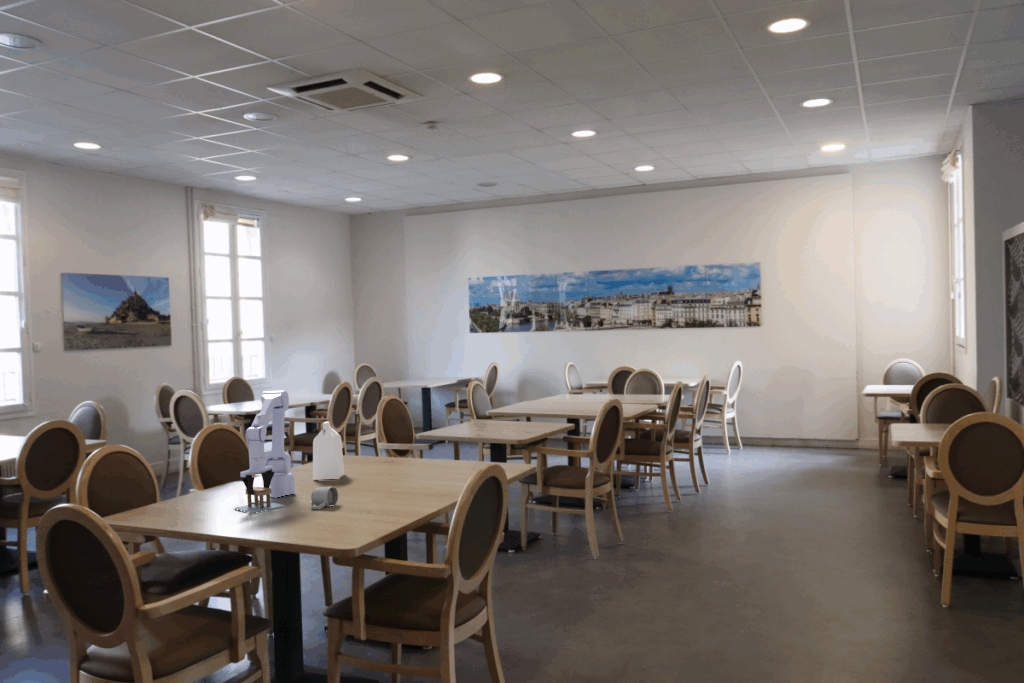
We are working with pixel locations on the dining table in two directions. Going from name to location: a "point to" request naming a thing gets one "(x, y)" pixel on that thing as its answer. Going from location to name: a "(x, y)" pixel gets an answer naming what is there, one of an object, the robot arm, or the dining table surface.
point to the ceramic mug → (324, 497)
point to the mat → (257, 507)
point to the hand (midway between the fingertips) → (258, 492)
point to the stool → (259, 492)
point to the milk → (327, 454)
